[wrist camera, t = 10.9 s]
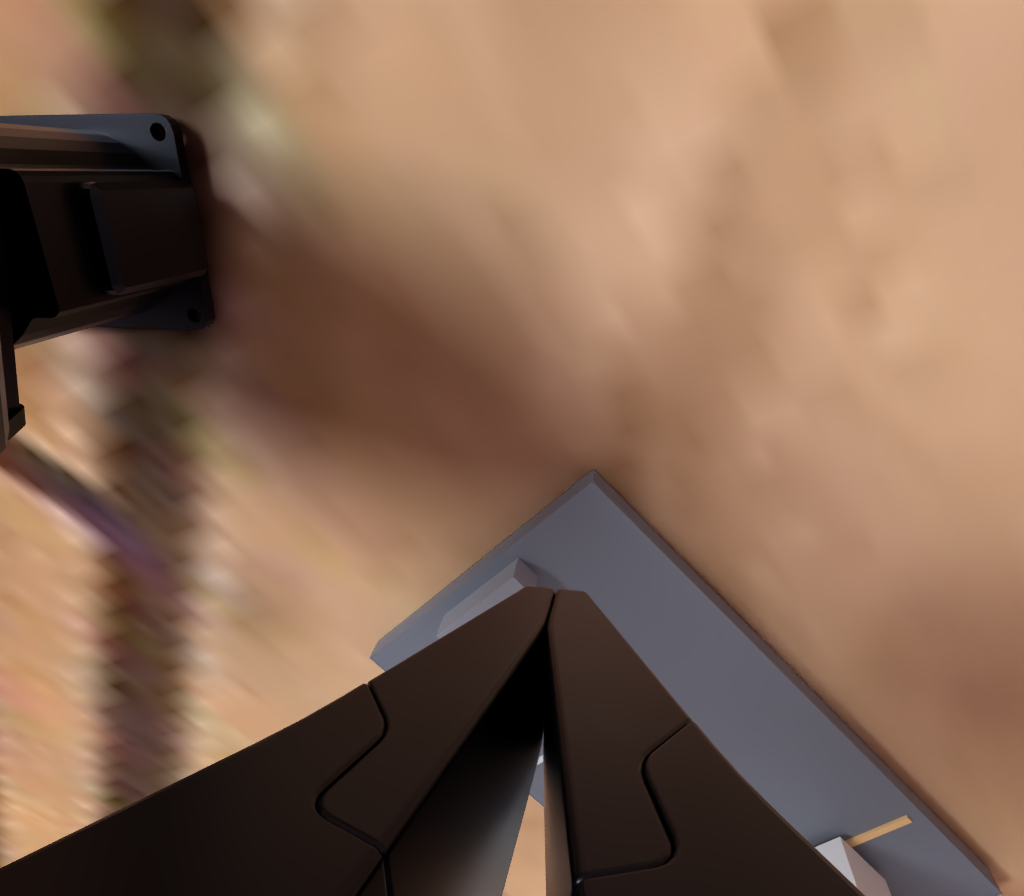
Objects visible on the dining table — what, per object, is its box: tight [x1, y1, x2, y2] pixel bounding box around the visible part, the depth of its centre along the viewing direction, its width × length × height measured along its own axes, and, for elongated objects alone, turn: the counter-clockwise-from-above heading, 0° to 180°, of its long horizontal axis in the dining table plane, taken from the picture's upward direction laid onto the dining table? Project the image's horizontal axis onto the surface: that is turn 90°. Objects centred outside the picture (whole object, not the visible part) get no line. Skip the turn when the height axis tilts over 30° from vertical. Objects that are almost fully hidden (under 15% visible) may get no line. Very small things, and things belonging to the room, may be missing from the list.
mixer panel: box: [370, 469, 1002, 896], centre depth 25 cm, size 24×12×2 cm, turn 45°
